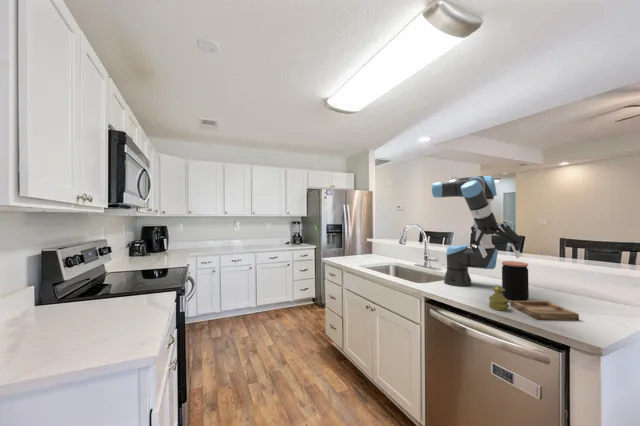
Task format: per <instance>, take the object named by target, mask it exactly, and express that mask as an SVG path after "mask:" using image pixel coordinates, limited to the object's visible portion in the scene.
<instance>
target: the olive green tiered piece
mask: <svg viewBox="0 0 640 426" xmlns="http://www.w3.org/2000/svg"><path fill="white" fill-rule="evenodd" d="M491 290H492V291H493V292H494V293H493V294H491V295H490V296H488V307H489V308H490V309H492V310H496V311H501V312H505V311H509V306H510V305H509V304H508V303H509V302H510V300H508V299H507V298H505V296H503V295H502V292H503V291H505V289H504V288H502V285H495V286H492V287H491Z"/></svg>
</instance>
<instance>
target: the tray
mask: <svg viewBox="0 0 640 426" xmlns="http://www.w3.org/2000/svg"><path fill="white" fill-rule="evenodd" d="M511 306H512V307H511ZM510 307H511V308H514V309H515V310H517V311H519V312H521V313H523V314H525V315H527V316H528V317H531V318H532V319H534V320H536V321H541V320H542V321H579V320H580V314H579V313H577V312H575V311H572V310H571V309H567V308H565V307H563V306H560V305H558V304H555V303H553V302H550V301H548V300H527V301H511V300H510Z"/></svg>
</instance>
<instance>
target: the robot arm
mask: <svg viewBox="0 0 640 426" xmlns="http://www.w3.org/2000/svg"><path fill="white" fill-rule="evenodd" d="M431 194H432V197H433V198H439V199H440V198H455V197H457V198H458V197H459V198H463V199H465V202H466V204H467V207H468V209H469V211H470V213H471V215H472V218H473V225H471V227H470V229H471V230H470V231H471V234H470V235H471V236H470V245H471V247H469V245H463V244H461V245H459V244H458V245H450V246H448V247H447V248H446V254H445V255H446V271H445V275H444V277H443V283H445V284H447V285H450V286H456V287H470V286H472V279H471V276H470V273H469V268H471V269H484V270H494V269H496V266H497V260H498V253H499V252H498V251H499V250H498V249H497V248H496V246H495V245H494V244H493V243H492V235H496V236H499V237H501V239H504V240H506V241H507V242H508V243H510V247H511V249H512V251H513V254H514V256H515V258H516V259H519V258H520V257H521V251H520V249H521V247H520V243H522V240H523V238H522V237H521V236H520V235H518V233H516V232H515V231H514V229H512V228H511V227H510V226H508V224H507V222H506V221H502V222H501V223H498V222H497V219H496V217H495V215H494V213H493V209H492V206H491V205H492V204H491V202H493V201H494V199H495V198H494V197H496V196H497V194H498V193H497V189H496V181H495V178H494V176H492V175H481V176H480V175H479V176H469V177H461V178H455V179H452V180H449V181H438V182H433V183H432V184H431Z"/></svg>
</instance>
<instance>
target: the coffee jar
mask: <svg viewBox="0 0 640 426" xmlns="http://www.w3.org/2000/svg"><path fill="white" fill-rule="evenodd" d="M501 264H502V266H501V287H502V288H504V289H505V291H503V292H502V295H503V296H505V298H507V299H508V300H509V301H510V302H511V301H529V298H530V296H529V294H530V293H529V268H528V267H529V264H528V263H527V262H523V261H515V260H514V261H513V260H506V261H501Z"/></svg>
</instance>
